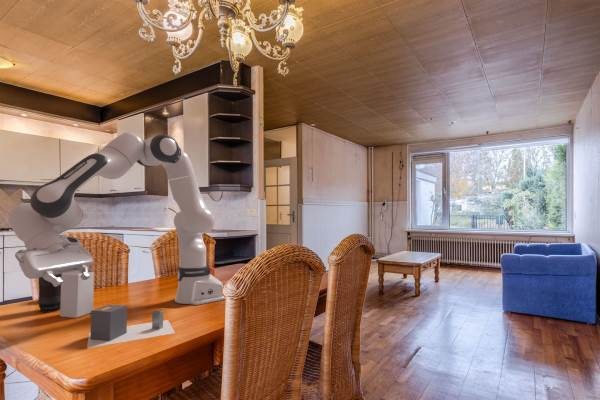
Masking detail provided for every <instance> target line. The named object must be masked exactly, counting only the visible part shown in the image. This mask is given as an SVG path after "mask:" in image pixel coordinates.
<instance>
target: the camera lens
mask: <svg viewBox="0 0 600 400" xmlns="http://www.w3.org/2000/svg"><path fill="white" fill-rule="evenodd" d="M61 275H62V273H61V274H55V275H54V276H55V277H57V278H61ZM60 306H61V285H60V286H56V287H55V286H54V285H53V284H52V283H51V282H49V281H47V280H45V279H44V278H43V277H39V278H38V308H39V309H40V310H39V311H40V312H41V313H53V312H54V313H55V312H59V311H60ZM58 310H59V311H58Z"/></svg>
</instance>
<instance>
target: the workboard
mask: <svg viewBox="0 0 600 400" xmlns="http://www.w3.org/2000/svg"><path fill="white" fill-rule="evenodd" d="M90 333H91V331H89V333H88V340H87V344H86V349H92V348H97V347H103V346H109V345H114V344H120V343H121V344H122V343H125V342H126V343H127V342H132V341H137V340H143V339H150V338H155V337H160V336H166V335H171V334H172V335H174V334H176V332H175V330H174V329H173V327H172V324H171V323H170V320H168V319H165V320H164V319H163V328H162V329H160V330H159V329H152V321H151V322H146V323H139V324H138V323H137V324H134V325H133V324H131V325H127V333H126V334H124V335H122V336H120V337H118V338H116V339H113V340H111V341H102V340H91V339H90Z"/></svg>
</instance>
